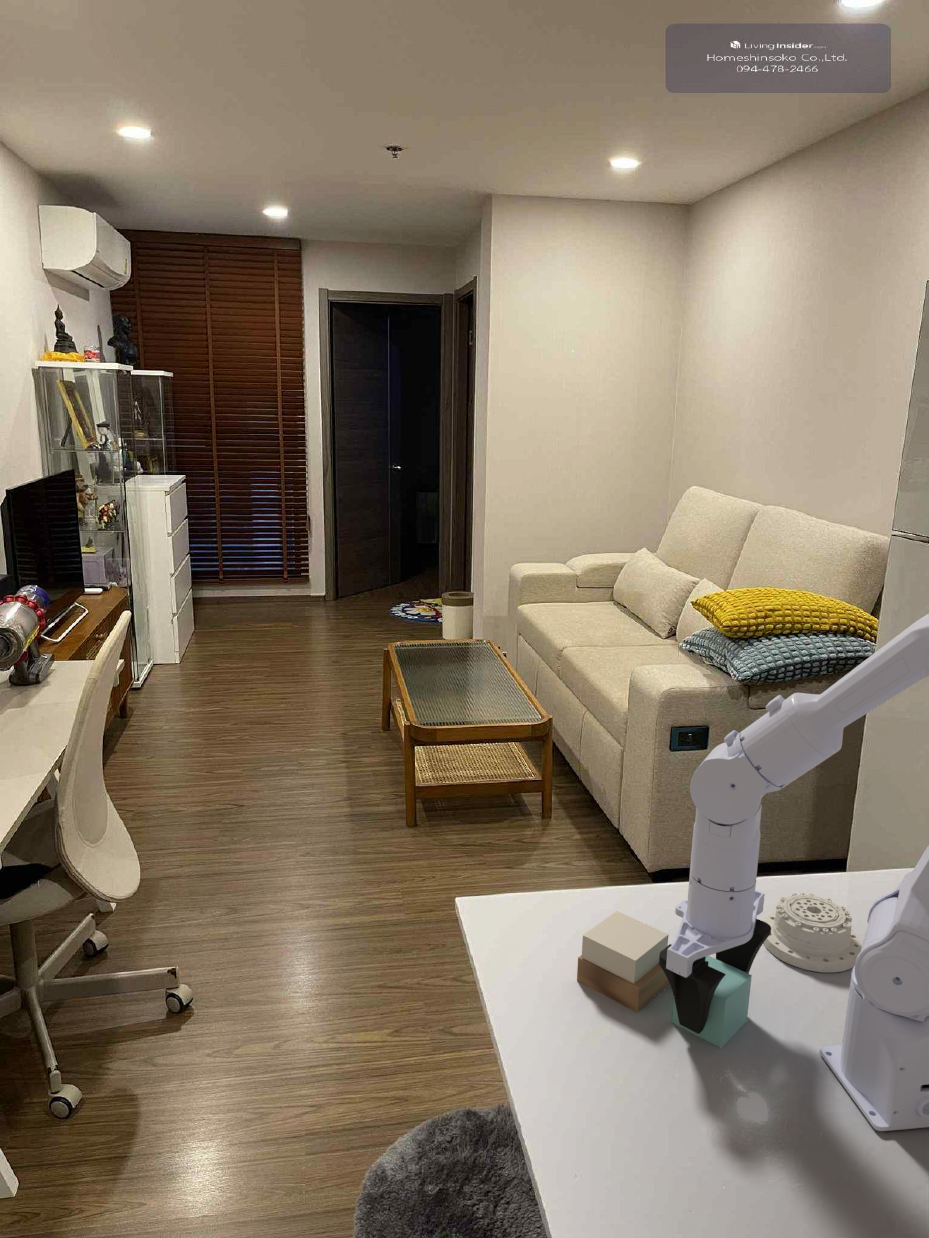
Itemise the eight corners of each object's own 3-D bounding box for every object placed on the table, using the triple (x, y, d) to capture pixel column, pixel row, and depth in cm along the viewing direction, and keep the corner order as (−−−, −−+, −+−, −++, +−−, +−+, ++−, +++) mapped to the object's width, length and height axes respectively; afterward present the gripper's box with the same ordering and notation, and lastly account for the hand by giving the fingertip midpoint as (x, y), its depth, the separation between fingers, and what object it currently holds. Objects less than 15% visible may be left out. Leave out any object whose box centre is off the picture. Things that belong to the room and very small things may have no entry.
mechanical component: (776, 974, 95) (875, 976, 94) (781, 935, 94) (881, 938, 93) (749, 919, 104) (839, 922, 104) (753, 884, 103) (844, 886, 103)
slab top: (666, 956, 92) (668, 934, 92) (633, 983, 88) (635, 960, 87) (615, 932, 96) (616, 910, 96) (581, 957, 92) (582, 935, 91)
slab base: (675, 982, 93) (677, 956, 92) (637, 1016, 88) (639, 988, 87) (616, 954, 98) (617, 928, 97) (576, 984, 93) (578, 957, 92)
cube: (746, 1022, 87) (751, 975, 86) (721, 1048, 83) (725, 1000, 82) (698, 998, 90) (702, 952, 89) (671, 1023, 87) (675, 975, 86)
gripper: (720, 833, 91) (709, 957, 94) (640, 889, 81) (630, 1025, 84) (790, 858, 86) (776, 987, 90) (714, 920, 76) (701, 1063, 79)
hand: (710, 1008), depth 87 cm, fingers open, 7 cm apart
